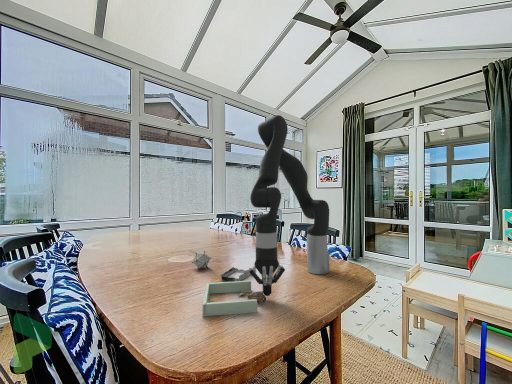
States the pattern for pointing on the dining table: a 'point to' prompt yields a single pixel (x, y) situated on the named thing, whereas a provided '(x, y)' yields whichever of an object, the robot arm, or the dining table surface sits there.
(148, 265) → the dining table surface
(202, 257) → the grey spiky ball
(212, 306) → the frame
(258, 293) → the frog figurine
